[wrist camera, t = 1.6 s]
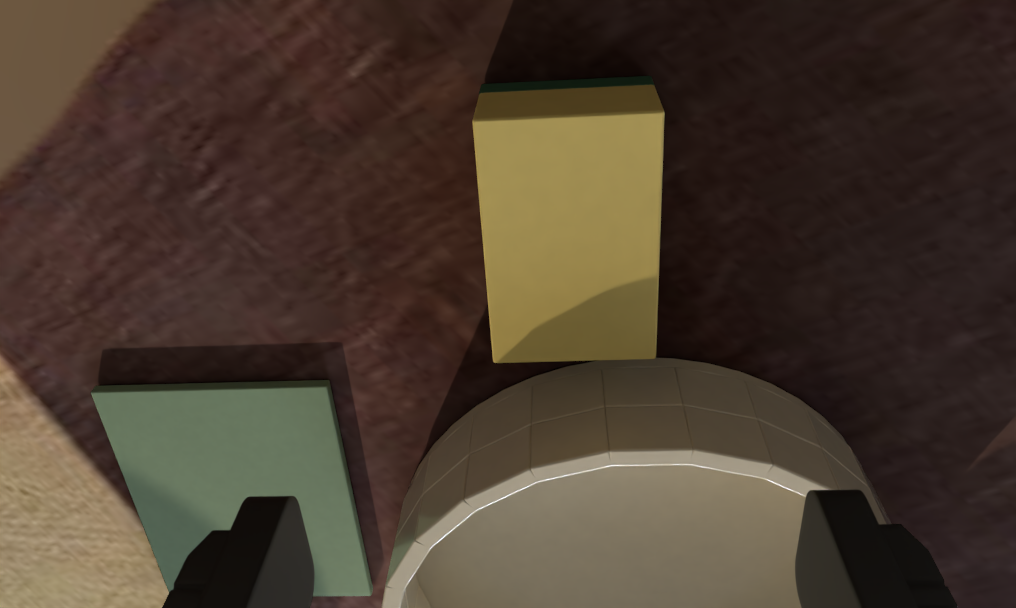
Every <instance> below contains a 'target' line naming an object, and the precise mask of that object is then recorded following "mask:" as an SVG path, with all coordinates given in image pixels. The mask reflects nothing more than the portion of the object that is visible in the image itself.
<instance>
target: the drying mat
mask: <svg viewBox="0 0 1016 608" xmlns="http://www.w3.org/2000/svg"><path fill="white" fill-rule="evenodd" d="M91 395H92V397H93V400H94V402H95V405H96V407H97V410H98V412H99V415H100V418H101V420H102V423H103V425H104V428H105V430H106V433H107V435H108V438H109V441H110V443H111V446H112V448H113V451H114V453H115V456H116V458H117V461H118V463H119V466H120V469H121V471H122V474H123V476H124V479H125V481H126V484H127V486H128V489H129V492H130V494H131V497H132V499H133V502H134V504H135V507H136V509H137V512H138V515H139V517H140V520H141V522H142V525H143V527H144V530H145V532H146V535H147V538H148V540H149V543H150V545H151V548H152V550H153V553H154V555H155V558H156V560H157V563H158V566H159V568H160V571H161V573H162V576H163V578H164V581H165V583H166V586H167V589H168V591H169V593H170V591H171V590H173V588H174V582H175V580H176V578H177V576H178V574H179V572H180V570H181V568H182V566H183V564H184V562H185V560H186V558H187V556H188V555H189V554H190V553H191V552H192V551H193V550H194V549H195V547H196V546H197V545H198V544H199V543H200V542H201V541H202V540H203V539H204V538H205V537H206V536H207V535H208V534H209V533H210V532H211V531H212V530H230V529H231V527H232V525H233V522H234V520H235V518H236V516H237V513H238V511H239V509H240V507H241V505H242V503H243V501H244V500H245V499H246V498H247V497H254V496H294V497H296V498H297V500H298V502H299V506H300V510H301V514H302V518H303V522H304V526H305V530H306V534H307V538H308V542H309V546H310V550H311V554H312V558H313V563H314V573H315V579H314V592H313V596H371V594H372V590H373V586H372V582H371V577H370V572H369V567H368V563H367V558H366V553H365V548H364V543H363V539H362V534H361V529H360V524H359V520H358V515H357V510H356V505H355V500H354V496H353V491H352V486H351V481H350V477H349V472H348V467H347V462H346V457H345V453H344V448H343V443H342V438H341V434H340V429H339V424H338V419H337V414H336V410H335V405H334V400H333V395H332V391H331V386H330V381H329V380H305V381H265V382H225V383H185V384H145V385H105V386H95V387H94V389H93V390H92V391H91Z"/></svg>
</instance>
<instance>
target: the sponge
mask: <svg viewBox="0 0 1016 608" xmlns="http://www.w3.org/2000/svg"><path fill="white" fill-rule="evenodd" d="M664 115H665V112H664V110H663V107H662V104H661V102H660V99H659V97H658V94H657V91H656V89H655V86H654V83H653V80H652V77H651V76H635V77H615V78H595V79H575V80H554V81H534V82H514V83H493V84H482V85H481V88H480V92H479V97H478V101H477V105H476V109H475V113H474V117H473V121H472V122H473V133H474V145H475V157H476V168H477V180H478V192H479V204H480V215H481V227H482V239H483V250H484V262H485V274H486V285H487V297H488V309H489V321H490V332H491V344H492V356H493V362H494V363H517V362H556V361H594V360H632V359H655V357H656V344H657V315H658V287H659V258H660V230H661V201H662V172H663V144H664Z"/></svg>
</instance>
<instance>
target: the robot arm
mask: <svg viewBox="0 0 1016 608" xmlns="http://www.w3.org/2000/svg"><path fill="white" fill-rule="evenodd" d="M795 578H796V587H797V593H798V597H799V601H800V604H801V607H802V608H957V604H956V602H955V600H954V599H953V597H952V595H951V593H950V591H949V589H948V587H945V585H944V579H943V577H942V576H941V574H940V572H939V570H938V568H937V566H936V564H935V562H934V560H933V558H932V556H931V554H930V552H929V551H928V549H926V548H925V547H924V546H923V545H922V544H921V543H920V542H919V541H918V540H917V539H916V538H915V537H914V536H913V535H912V534H910V533H909V532H908V531H907V530H906V529H905V528H904V527H903V526H902V525H901V524H879V523H878V521H877V519H876V517H875V515H874V513H873V511H872V508H871V506H870V504H869V502H868V500H867V498H866V496H865V495H864V493H863V492H862V491H861V490H810V491H808V493H807V495H806V499H805V504H804V510H803V516H802V522H801V528H800V534H799V540H798V546H797V553H796V559H795ZM314 579H315V573H314V563H313V558H312V554H311V550H310V546H309V542H308V538H307V534H306V530H305V526H304V522H303V518H302V514H301V510H300V506H299V502H298V500H297V498H296V497H294V496H254V497H247V498H246V499H245V500H244V501H243V503H242V505H241V507H240V509H239V511H238V513H237V516H236V518H235V520H234V522H233V525H232V527H231V529H230V530H212V531H211V532H210V533H209V534H208V535H207V536H206V537H205V538H204V539H203V540H202V541H201V542H200V543H199V544H198V545H197V546H196V547H195V549H194V550H193V551H192V552H191V553H190V554H189V555H188V556H187V558H186V560H185V562H184V564H183V566H182V568H181V570H180V572H179V574H178V576H177V578H176V580H175V582H174V588H173V590H171V591H170V593H169V595H168V597H167V599H166V601H165V603H164V605H163V607H162V608H310V606H311V602H312V598H313V592H314Z"/></svg>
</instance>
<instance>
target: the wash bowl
mask: <svg viewBox="0 0 1016 608" xmlns="http://www.w3.org/2000/svg"><path fill="white" fill-rule="evenodd" d="M810 490H861V491H862V492H863V493H864V495H865V496H866V498H867V500H868V502H869V504H870V506H871V508H872V511H873V513H874V515H875V517H876V519H877V521H878V523H879V524H891V522H890V520H889V518H888V516H887V514H886V512H885V510H884V508H883V505H882V503H881V501H880V499H879V497H878V495H877V493H876V491H875V489H874V487H873V486H872V484H871V482H870V480H869V479H868V477H867V475H866V474H865V472H864V470H863V468H862V466H861V464H860V462H859V460H858V458H857V456H856V455H855V453H854V452H853V451H852V449H851V448H850V446H849V445H848V444H847V442H846V441H845V439H844V438H843V436H842V435H841V434H840V433H839V432H838V431H837V430H836V429H835V428H834V427H833V426H832V425H831V424H830V423H829V422H828V421H827V420H826V419H825V418H824V417H823V416H822V415H820V414H819V413H817V412H816V411H815V410H813V409H812V408H811V407H809V406H808V405H807V404H805V403H804V402H803V401H801V400H800V399H799V398H797V397H795V396H793V395H791V394H789V393H788V392H786V391H784V390H782V389H780V388H778V387H777V386H775V385H773V384H771V383H769V382H766V381H763V380H761V379H758V378H756V377H753V376H751V375H748V374H745V373H743V372H740V371H737V370H733V369H729V368H725V367H721V366H717V365H713V364H709V363H704V362H697V361H690V360H682V359H675V358H655V359H632V360H598V361H592V362H587V363H582V364H577V365H571V366H566V367H563V368H560V369H556V370H553V371H550V372H547V373H543V374H540V375H537V376H534V377H531V378H529V379H527V380H524V381H522V382H520V383H518V384H515V385H513V386H511V387H508V388H506V389H504V390H502V391H500V392H499V393H497V394H495V395H494V396H492V397H490V398H489V399H487V400H485V401H484V402H482V403H480V404H478V405H477V406H476V407H474V408H473V409H472V410H470V411H469V412H468V413H467V414H465V415H464V416H463V417H461V418H460V419H459V420H458V421H456V422H455V423H454V424H453V425H452V426H451V427H450V428H449V429H448V430H447V431H446V432H445V433H444V434H443V435H442V436H441V437H440V438H439V439H438V440H437V441H436V442H435V443H434V445H433V446H432V448H431V449H430V450H429V452H428V453H427V455H426V456H425V457H424V459H423V460H422V462H421V463H420V465H419V466H418V468H417V471H416V473H415V475H414V477H413V479H412V481H411V483H410V485H409V487H408V491H407V494H406V496H405V498H404V501H403V506H402V510H401V515H400V520H399V524H398V529H397V534H396V539H395V543H394V548H393V553H392V557H391V562H390V567H389V571H388V576H387V581H386V586H385V591H384V596H383V602H382V607H381V608H802V607H801V604H800V601H799V597H798V593H797V587H796V578H795V559H796V553H797V546H798V540H799V534H800V528H801V522H802V516H803V510H804V504H805V499H806V495H807V493H808V491H810Z"/></svg>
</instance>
